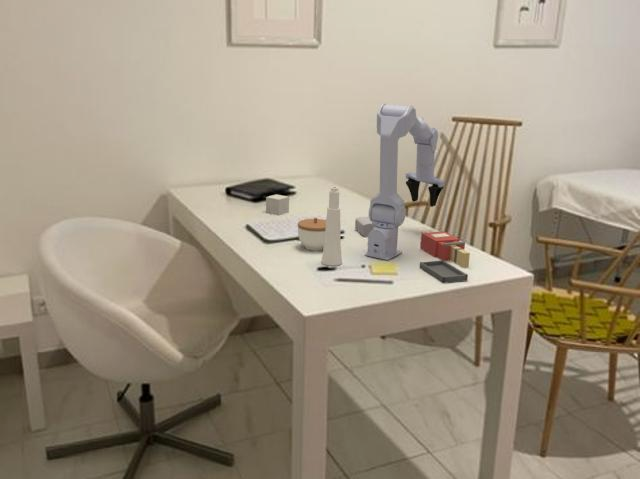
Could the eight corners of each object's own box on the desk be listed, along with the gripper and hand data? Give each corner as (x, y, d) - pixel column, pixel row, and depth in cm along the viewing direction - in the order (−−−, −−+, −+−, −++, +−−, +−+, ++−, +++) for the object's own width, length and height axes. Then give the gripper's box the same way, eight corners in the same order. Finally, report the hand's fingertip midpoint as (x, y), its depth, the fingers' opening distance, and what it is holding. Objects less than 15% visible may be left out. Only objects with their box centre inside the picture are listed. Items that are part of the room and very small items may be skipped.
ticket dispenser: (465, 258, 195) (466, 242, 194) (441, 261, 192) (443, 244, 191) (442, 246, 207) (444, 230, 205) (420, 248, 204) (421, 232, 202)
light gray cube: (288, 212, 242) (289, 196, 241) (278, 215, 238) (279, 199, 236) (276, 209, 246) (276, 194, 244) (265, 212, 241) (266, 197, 239)
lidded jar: (338, 246, 203) (339, 217, 201) (320, 255, 195) (321, 224, 192) (309, 240, 209) (309, 211, 206) (290, 248, 200) (291, 218, 197)
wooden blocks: (468, 266, 188) (469, 252, 187) (462, 267, 188) (463, 253, 186) (450, 256, 197) (451, 242, 196) (444, 256, 196) (445, 243, 195)
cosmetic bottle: (346, 262, 188) (349, 187, 182) (332, 267, 184) (335, 190, 178) (330, 257, 192) (333, 184, 186) (316, 262, 188) (319, 187, 181)
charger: (374, 224, 230) (389, 236, 216) (349, 225, 228) (363, 237, 214) (375, 211, 229) (390, 222, 215) (349, 212, 226) (364, 223, 213)
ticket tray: (467, 280, 177) (467, 274, 176) (442, 283, 174) (443, 277, 174) (442, 265, 189) (443, 260, 188) (419, 267, 186) (419, 262, 186)
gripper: (450, 165, 211) (448, 205, 216) (415, 157, 221) (414, 195, 226) (437, 169, 206) (435, 210, 212) (402, 161, 216) (401, 200, 221)
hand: (423, 203), depth 218 cm, fingers open, 7 cm apart
